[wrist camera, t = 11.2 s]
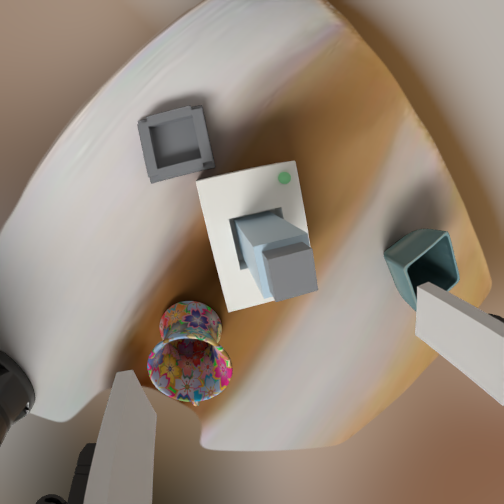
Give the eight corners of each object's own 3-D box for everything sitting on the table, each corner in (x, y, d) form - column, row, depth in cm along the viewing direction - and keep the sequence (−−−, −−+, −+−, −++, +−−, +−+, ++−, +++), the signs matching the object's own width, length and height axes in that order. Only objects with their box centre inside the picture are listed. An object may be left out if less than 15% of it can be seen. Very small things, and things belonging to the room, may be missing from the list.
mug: (153, 296, 39) (140, 336, 29) (222, 293, 40) (230, 332, 30) (165, 369, 42) (159, 418, 32) (226, 366, 43) (235, 414, 33)
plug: (241, 253, 34) (270, 310, 20) (233, 218, 33) (258, 254, 19) (275, 244, 35) (325, 294, 21) (268, 210, 34) (318, 239, 19)
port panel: (222, 285, 40) (228, 313, 32) (196, 180, 36) (195, 181, 28) (296, 266, 41) (319, 289, 33) (277, 162, 37) (298, 160, 29)
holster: (151, 183, 35) (148, 184, 33) (138, 122, 33) (134, 118, 30) (215, 167, 36) (216, 166, 34) (201, 105, 34) (202, 101, 31)
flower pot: (387, 294, 45) (420, 317, 36) (368, 249, 42) (403, 268, 34) (425, 263, 45) (460, 280, 36) (409, 218, 42) (448, 229, 34)
